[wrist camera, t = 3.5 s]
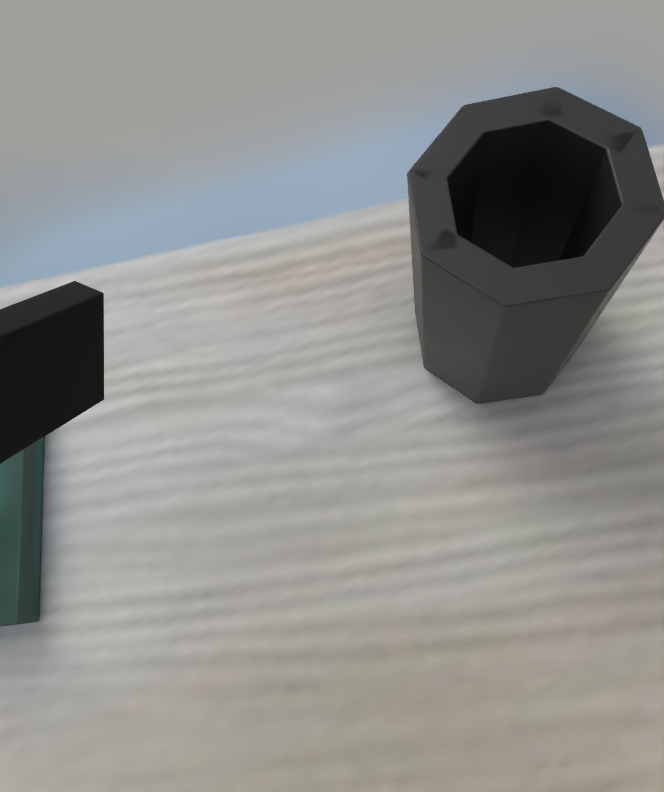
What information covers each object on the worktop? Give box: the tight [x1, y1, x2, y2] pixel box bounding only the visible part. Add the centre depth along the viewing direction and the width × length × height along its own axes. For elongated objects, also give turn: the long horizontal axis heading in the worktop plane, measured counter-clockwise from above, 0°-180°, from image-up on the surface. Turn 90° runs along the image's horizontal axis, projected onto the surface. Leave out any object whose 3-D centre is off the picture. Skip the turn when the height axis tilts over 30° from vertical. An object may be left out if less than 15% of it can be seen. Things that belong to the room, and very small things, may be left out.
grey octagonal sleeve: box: [407, 87, 664, 403], centre depth 24 cm, size 7×7×11 cm
